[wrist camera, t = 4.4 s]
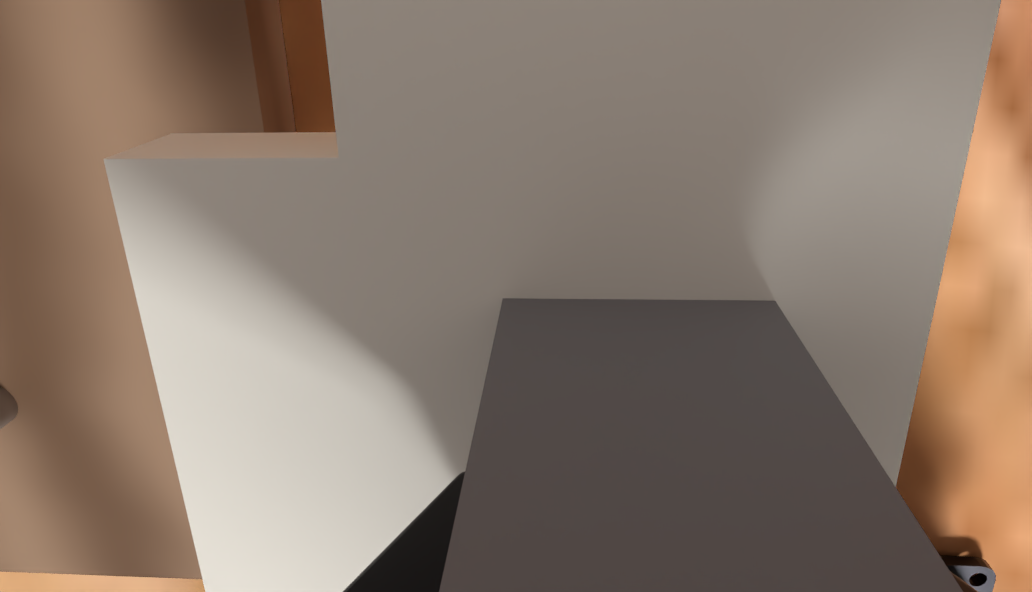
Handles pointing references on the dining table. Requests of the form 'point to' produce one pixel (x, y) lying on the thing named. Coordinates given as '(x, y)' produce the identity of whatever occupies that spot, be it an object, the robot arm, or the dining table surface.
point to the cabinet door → (567, 295)
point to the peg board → (102, 264)
